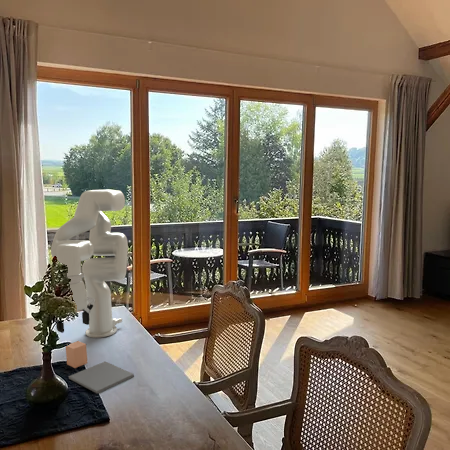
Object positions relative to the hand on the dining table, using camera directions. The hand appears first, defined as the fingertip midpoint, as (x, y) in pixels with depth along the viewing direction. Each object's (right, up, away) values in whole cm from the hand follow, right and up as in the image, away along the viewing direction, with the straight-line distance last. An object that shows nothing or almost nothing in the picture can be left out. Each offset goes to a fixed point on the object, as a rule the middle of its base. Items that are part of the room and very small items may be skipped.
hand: (73, 327), depth 156 cm
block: (0, -13, +2) cm, 13 cm away
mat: (+12, -14, -9) cm, 21 cm away
